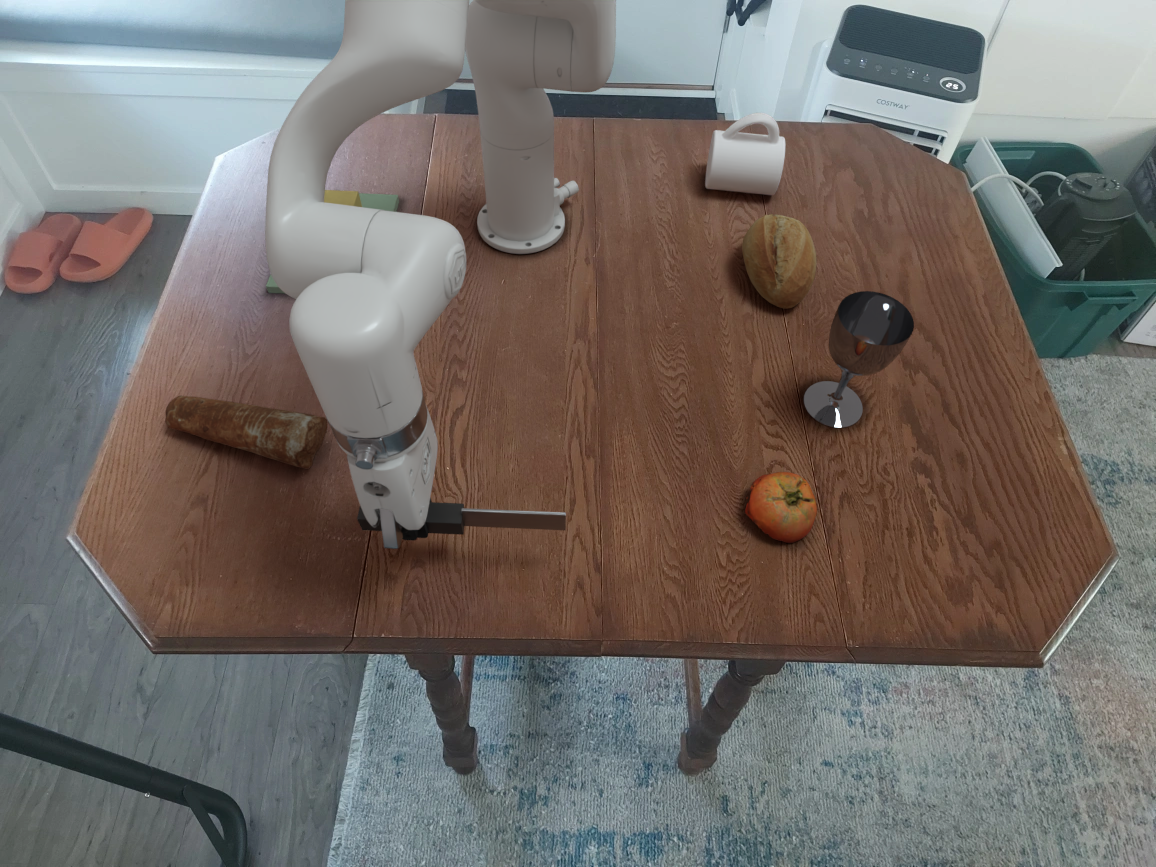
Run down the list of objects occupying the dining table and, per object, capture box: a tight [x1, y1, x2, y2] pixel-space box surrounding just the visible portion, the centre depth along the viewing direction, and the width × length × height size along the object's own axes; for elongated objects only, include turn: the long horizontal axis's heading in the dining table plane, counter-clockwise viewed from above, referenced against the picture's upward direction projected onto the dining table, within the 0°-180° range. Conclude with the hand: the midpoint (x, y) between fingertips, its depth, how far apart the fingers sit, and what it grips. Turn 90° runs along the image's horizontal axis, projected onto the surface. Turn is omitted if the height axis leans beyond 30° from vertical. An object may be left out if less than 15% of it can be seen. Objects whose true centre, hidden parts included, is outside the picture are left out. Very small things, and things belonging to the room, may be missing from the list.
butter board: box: [265, 189, 400, 295], centre depth 104 cm, size 20×14×5 cm
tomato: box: [744, 471, 818, 544], centre depth 82 cm, size 8×7×7 cm
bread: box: [164, 395, 328, 470], centre depth 85 cm, size 6×19×6 cm, turn 73°
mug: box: [704, 112, 787, 196], centre depth 111 cm, size 8×10×12 cm
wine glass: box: [803, 290, 915, 429], centre depth 86 cm, size 8×8×15 cm
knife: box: [356, 501, 567, 536], centre depth 74 cm, size 20×2×3 cm, turn 88°
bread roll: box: [741, 213, 817, 309], centre depth 101 cm, size 10×15×8 cm, turn 1°
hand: (414, 520), depth 75 cm, fingers closed on knife, 2 cm apart
